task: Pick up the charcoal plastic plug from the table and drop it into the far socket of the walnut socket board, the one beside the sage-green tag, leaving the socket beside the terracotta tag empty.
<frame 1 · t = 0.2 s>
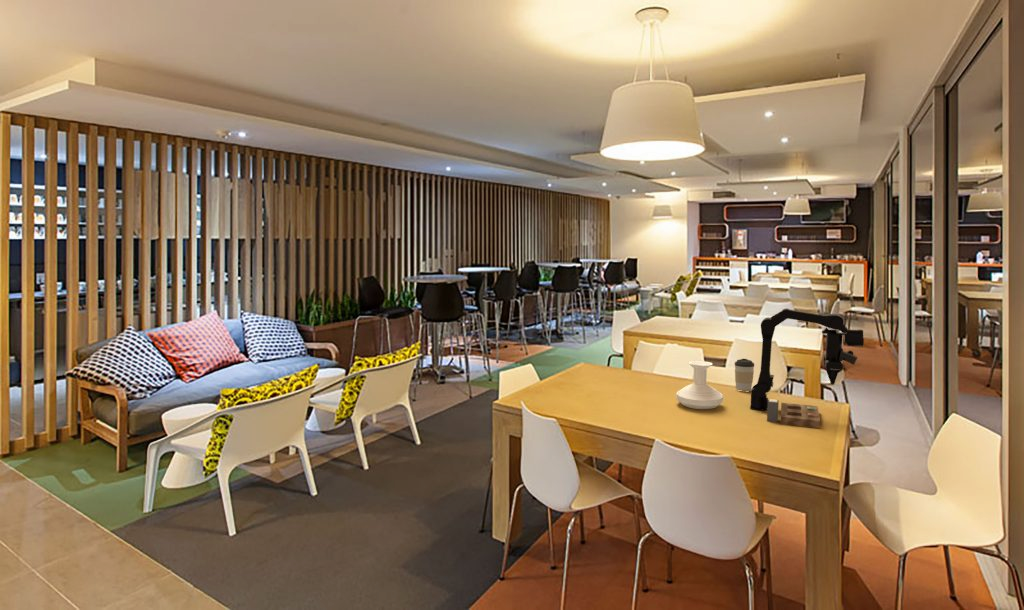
hand: (831, 382, 244), 14 cm above the table, tool pointing down, fingers open, 9 cm apart
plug: (772, 420, 241), on the table
socket board: (799, 418, 243), on the table
candle holder: (699, 406, 263), on the table
coffee cup: (743, 390, 288), on the table
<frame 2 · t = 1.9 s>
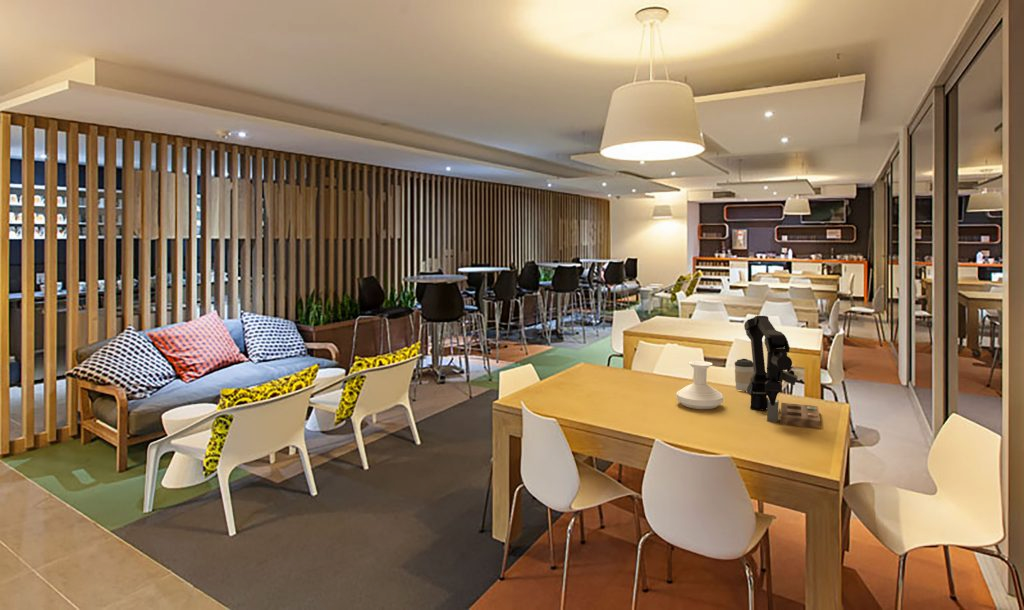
hand: (773, 402, 240), 7 cm above the table, tool pointing down, fingers open, 9 cm apart
nothing on the table moved.
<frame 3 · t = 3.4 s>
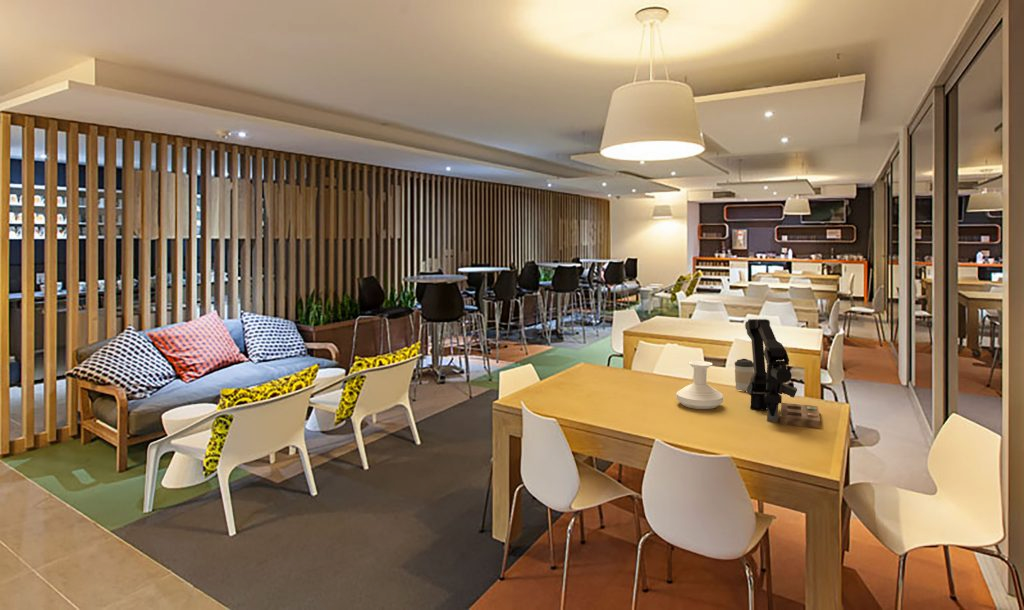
hand: (772, 414, 241), 2 cm above the table, tool pointing down, fingers closed on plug, 4 cm apart
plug: (772, 420, 241), on the table, touching gripper
everything else where it was.
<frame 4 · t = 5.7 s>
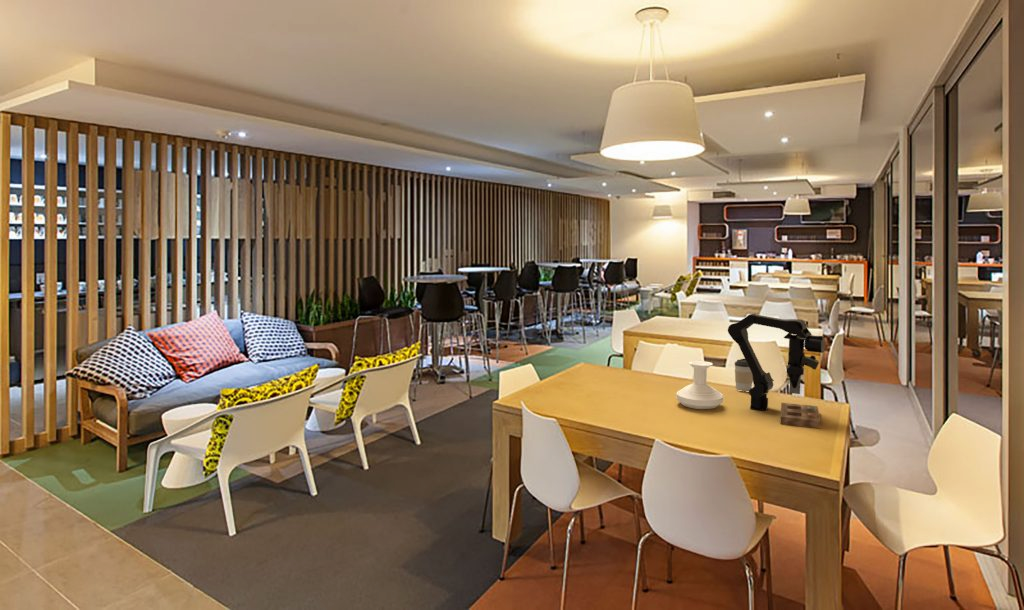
hand: (794, 386, 247), 12 cm above the table, tool pointing down, fingers closed on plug, 4 cm apart
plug: (794, 392, 247), point 10 cm above the table, touching gripper
everything else where it was.
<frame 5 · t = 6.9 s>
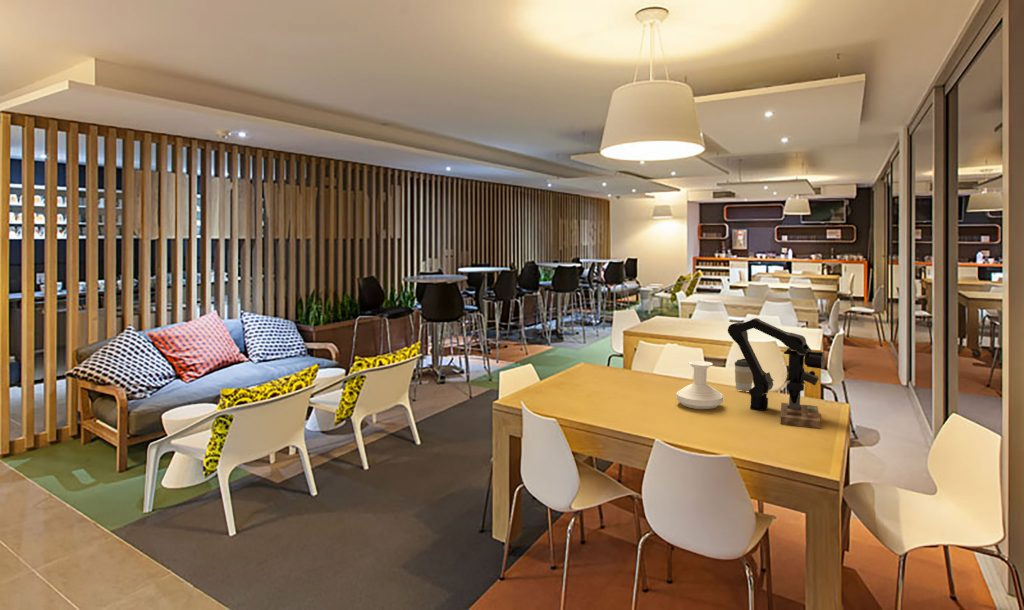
hand: (794, 402, 248), 5 cm above the table, tool pointing down, fingers closed on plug, 4 cm apart
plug: (794, 407, 248), point 3 cm above the table, touching gripper
everything else where it was.
when the fingers open (4 cm above the table, at t = 7.9 s): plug drops 2 cm, resting in socket board.
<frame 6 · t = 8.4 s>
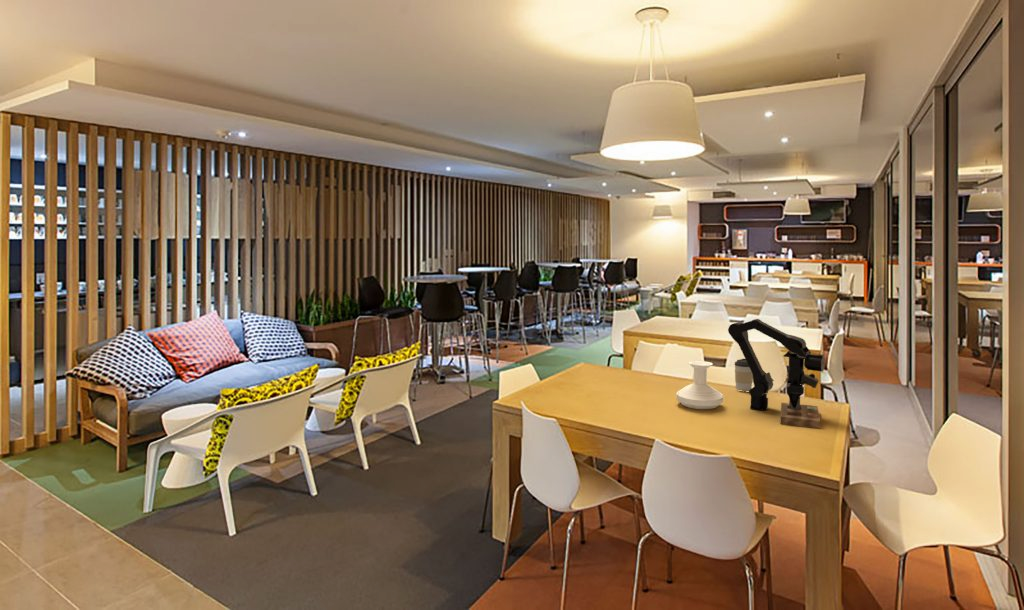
hand: (794, 404, 248), 4 cm above the table, tool pointing down, fingers open, 9 cm apart
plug: (794, 414, 248), resting in socket board
everything else where it was.
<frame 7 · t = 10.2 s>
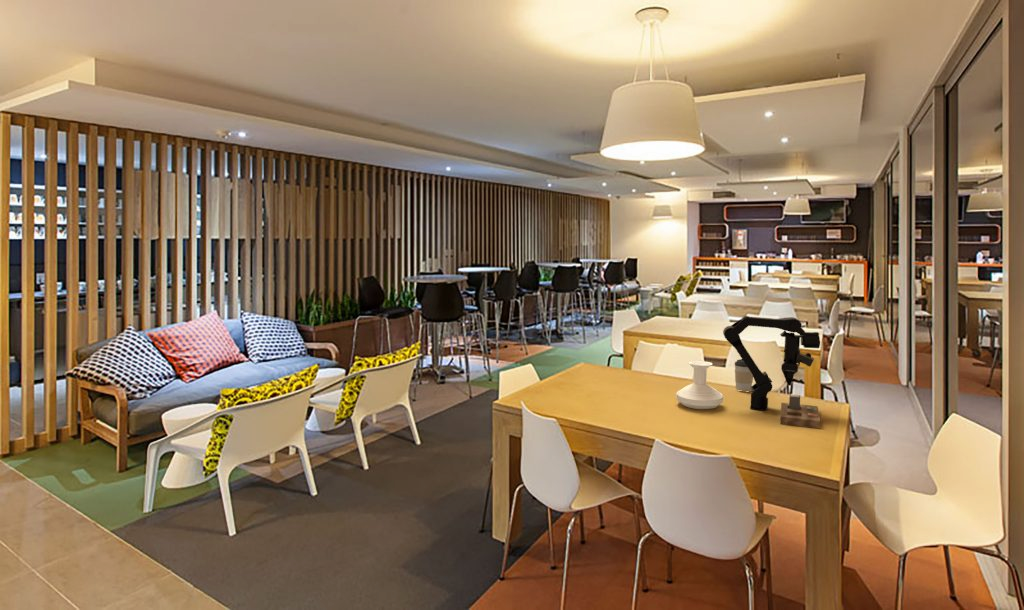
hand: (790, 383, 253), 12 cm above the table, tool pointing down, fingers open, 9 cm apart
nothing on the table moved.
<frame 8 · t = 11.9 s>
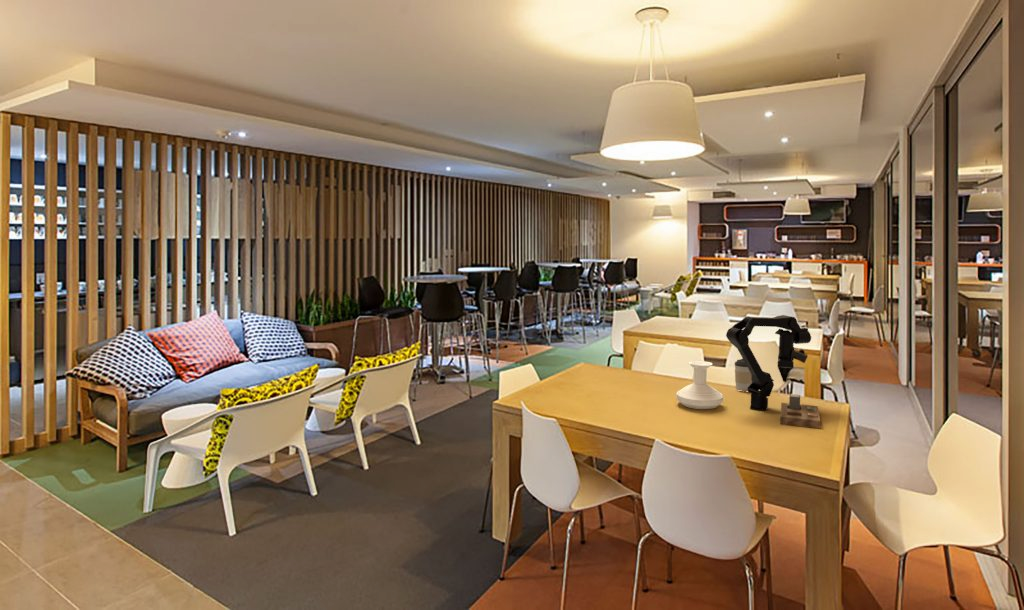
hand: (784, 379, 259), 12 cm above the table, tool pointing down, fingers open, 9 cm apart
nothing on the table moved.
at the end: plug 0.1 cm from the target spot on the socket board, point 0.0 cm above the socket board's base; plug tilted 0°; the gripper is holding nothing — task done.
